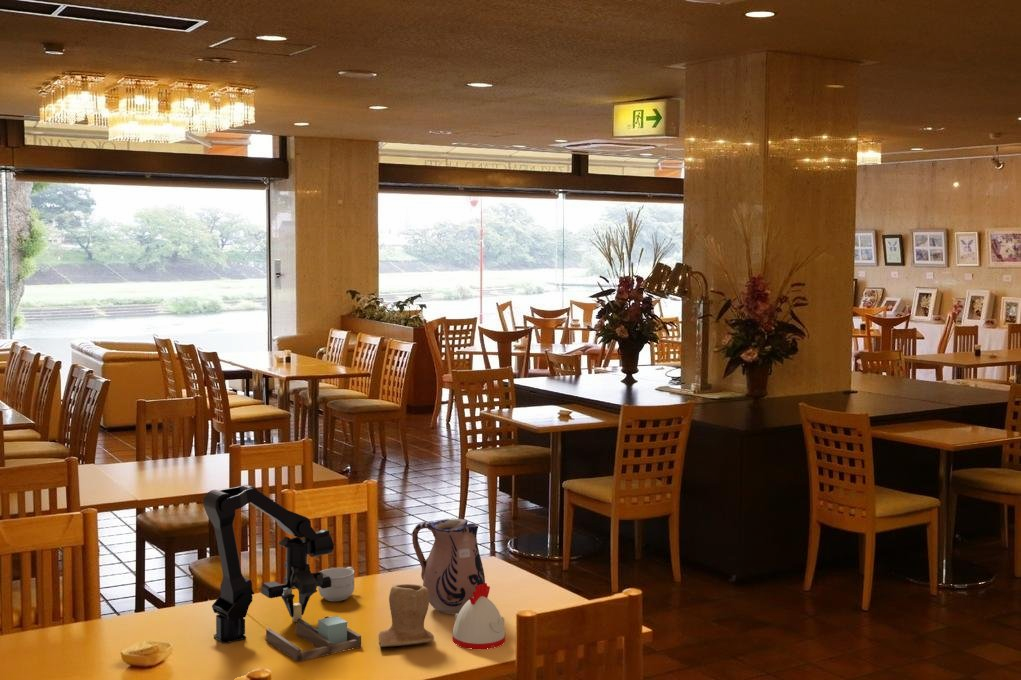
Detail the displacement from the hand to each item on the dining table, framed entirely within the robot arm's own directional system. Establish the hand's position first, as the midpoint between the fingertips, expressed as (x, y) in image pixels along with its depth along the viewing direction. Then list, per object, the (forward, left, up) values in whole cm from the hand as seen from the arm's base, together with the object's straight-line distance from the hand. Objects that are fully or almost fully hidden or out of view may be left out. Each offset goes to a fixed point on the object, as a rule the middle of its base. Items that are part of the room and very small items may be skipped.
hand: (296, 615), depth 305 cm
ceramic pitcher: (+40, -15, -2) cm, 43 cm away
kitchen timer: (+33, -40, -2) cm, 52 cm away
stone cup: (+16, -30, -2) cm, 34 cm away
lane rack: (-4, -18, -2) cm, 19 cm away
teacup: (+20, +12, -2) cm, 23 cm away
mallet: (0, -11, -1) cm, 11 cm away
